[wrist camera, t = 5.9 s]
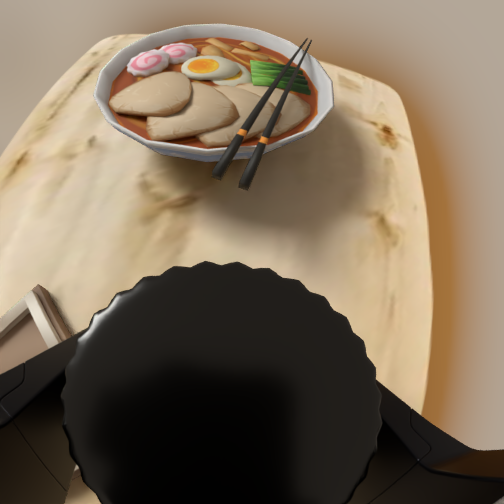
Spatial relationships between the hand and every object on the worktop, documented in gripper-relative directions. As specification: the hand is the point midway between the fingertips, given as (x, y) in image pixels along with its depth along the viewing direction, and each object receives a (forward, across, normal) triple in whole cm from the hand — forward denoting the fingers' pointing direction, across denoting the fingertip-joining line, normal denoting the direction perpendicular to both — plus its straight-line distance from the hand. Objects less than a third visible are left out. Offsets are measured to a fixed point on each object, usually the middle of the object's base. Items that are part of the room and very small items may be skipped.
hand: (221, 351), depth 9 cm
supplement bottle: (+4, 0, +6) cm, 7 cm away
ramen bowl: (+26, +4, -8) cm, 28 cm away
